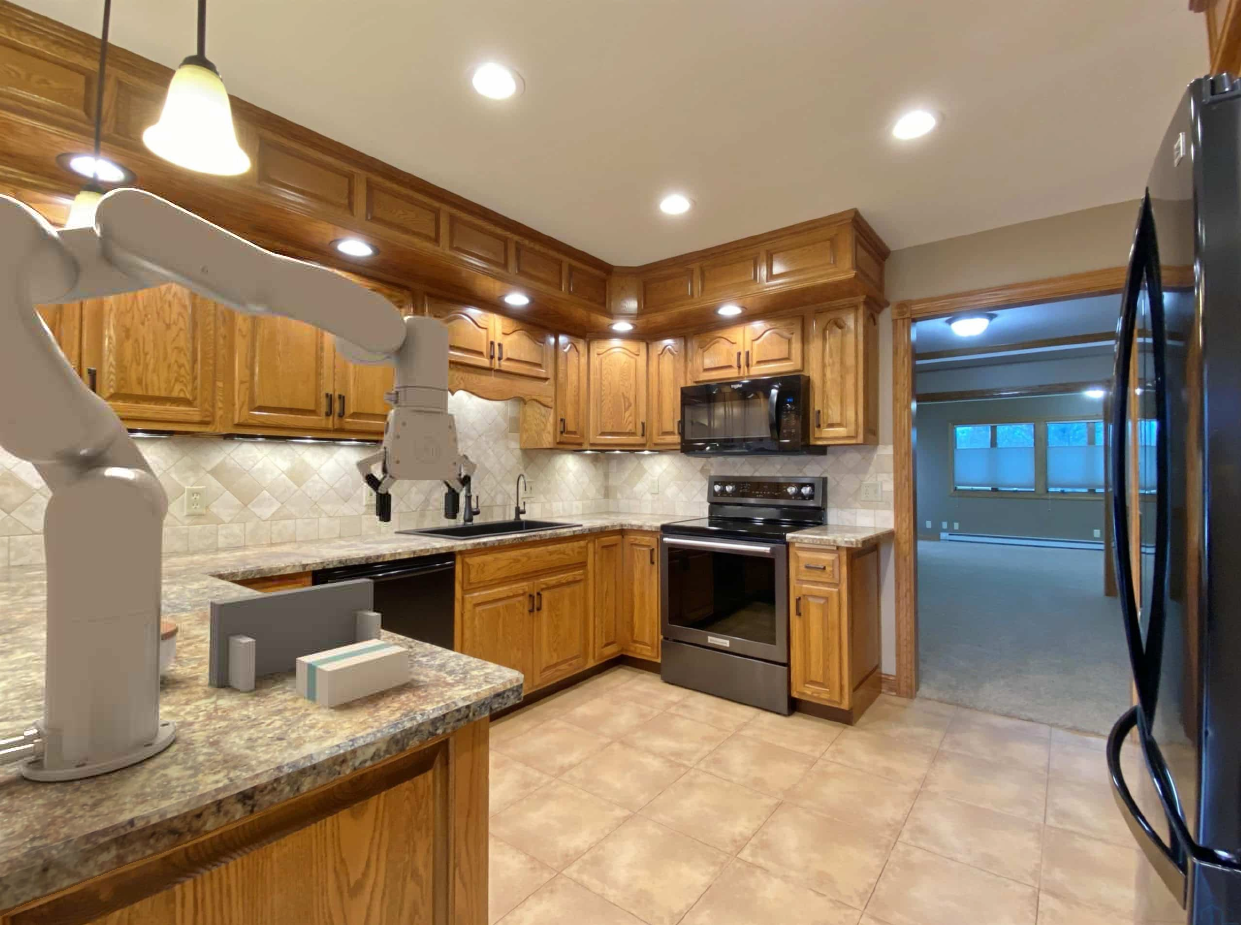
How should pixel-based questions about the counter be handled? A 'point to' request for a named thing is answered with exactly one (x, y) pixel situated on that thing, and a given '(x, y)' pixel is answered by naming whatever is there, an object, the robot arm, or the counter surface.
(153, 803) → the counter surface
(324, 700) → the carton
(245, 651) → the display stand
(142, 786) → the counter surface
